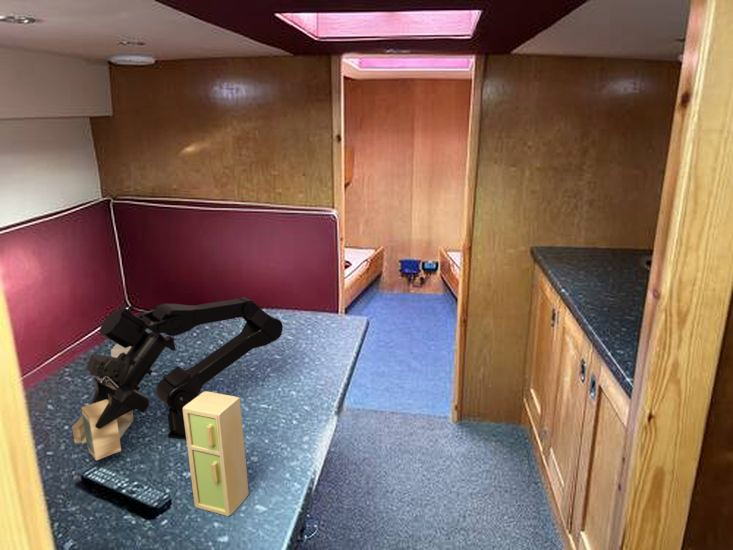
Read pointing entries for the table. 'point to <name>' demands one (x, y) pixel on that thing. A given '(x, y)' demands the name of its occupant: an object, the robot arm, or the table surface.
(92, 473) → the table surface
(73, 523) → the table surface
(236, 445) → the toy refrigerator
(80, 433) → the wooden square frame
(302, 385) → the table surface
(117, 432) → the maple block
